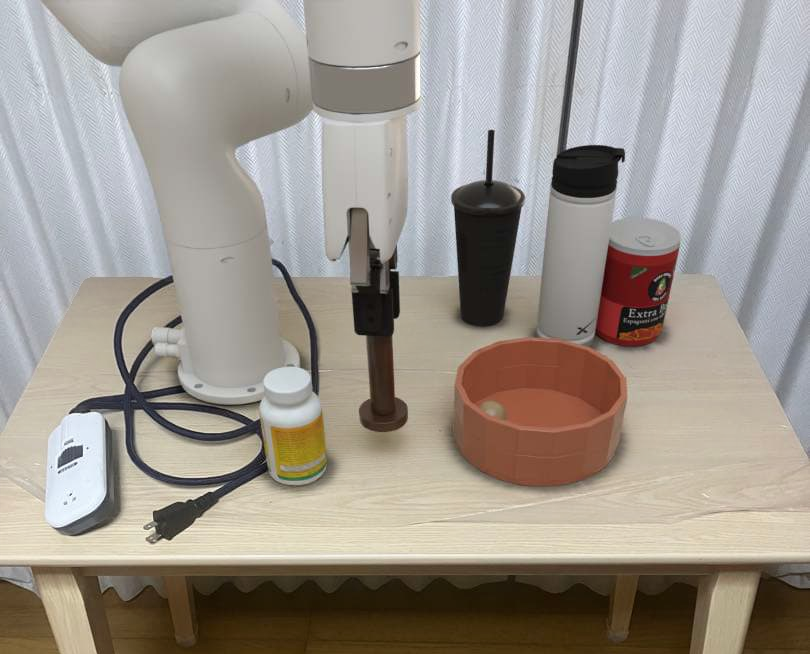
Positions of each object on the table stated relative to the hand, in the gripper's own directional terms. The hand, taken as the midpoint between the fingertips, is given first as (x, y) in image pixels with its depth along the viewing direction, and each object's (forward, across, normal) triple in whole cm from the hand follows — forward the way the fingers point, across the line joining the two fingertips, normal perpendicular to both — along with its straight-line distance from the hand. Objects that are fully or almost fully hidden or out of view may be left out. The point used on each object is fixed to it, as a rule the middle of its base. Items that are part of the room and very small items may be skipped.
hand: (377, 323), depth 71 cm
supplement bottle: (+13, +4, -7) cm, 15 cm away
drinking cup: (+13, -26, +7) cm, 30 cm away
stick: (+9, 0, 0) cm, 9 cm away
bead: (+11, -4, +10) cm, 15 cm away
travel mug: (+13, -22, +16) cm, 30 cm away
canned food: (+13, -25, +23) cm, 36 cm away
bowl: (+13, -4, +14) cm, 19 cm away
